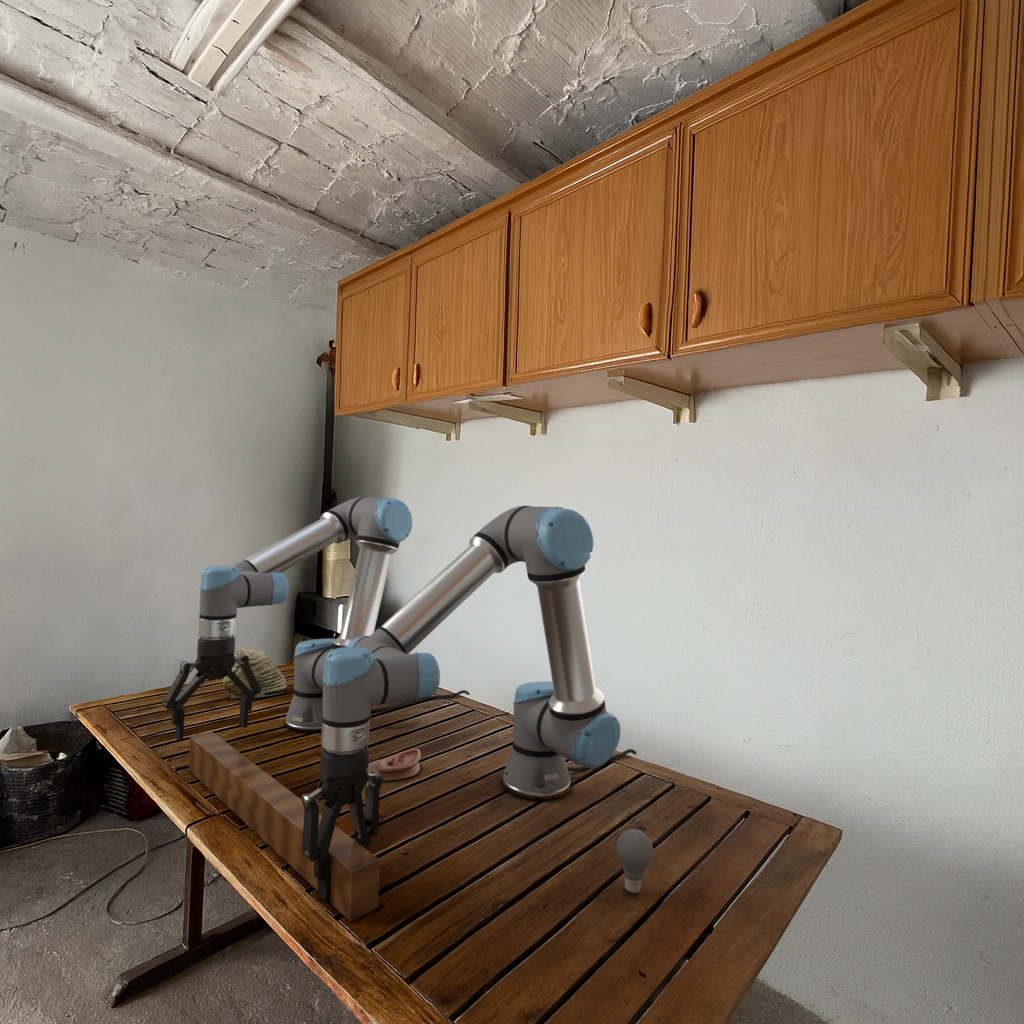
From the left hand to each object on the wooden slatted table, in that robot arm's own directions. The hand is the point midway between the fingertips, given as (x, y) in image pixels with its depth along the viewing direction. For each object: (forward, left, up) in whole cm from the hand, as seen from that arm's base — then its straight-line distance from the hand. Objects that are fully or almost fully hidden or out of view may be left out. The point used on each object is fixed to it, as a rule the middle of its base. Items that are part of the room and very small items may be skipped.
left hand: (212, 732), depth 140 cm
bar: (+2, +27, -10) cm, 29 cm away
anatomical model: (-30, +25, -10) cm, 40 cm away
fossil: (-37, -47, -10) cm, 61 cm away
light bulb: (-27, +89, -10) cm, 94 cm away
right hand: (+5, +54, -10) cm, 55 cm away
